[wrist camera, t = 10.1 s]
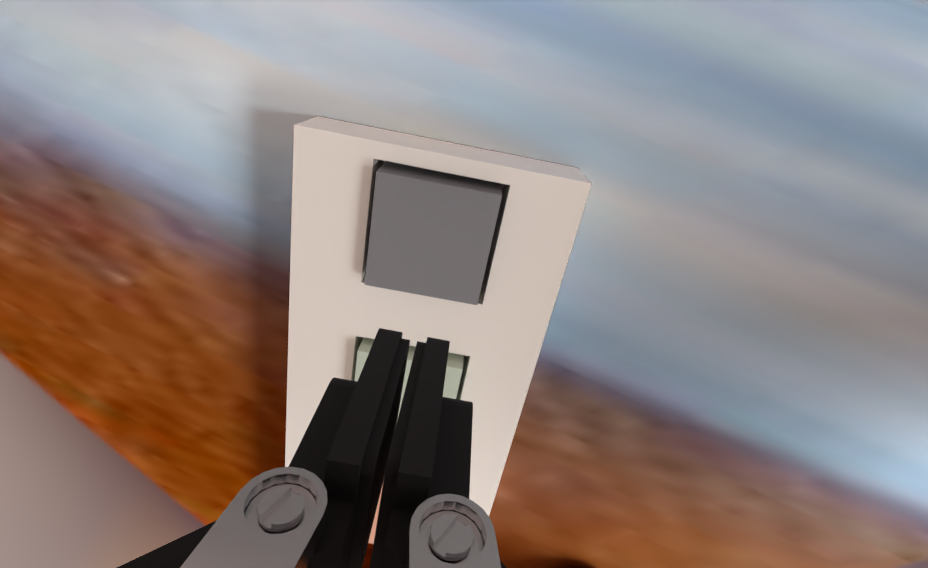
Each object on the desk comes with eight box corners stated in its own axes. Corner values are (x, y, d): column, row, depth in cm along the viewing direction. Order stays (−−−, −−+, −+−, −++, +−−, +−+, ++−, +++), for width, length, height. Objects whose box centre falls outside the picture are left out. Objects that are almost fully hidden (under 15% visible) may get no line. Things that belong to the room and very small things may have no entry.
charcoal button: (499, 178, 21) (502, 195, 18) (477, 276, 23) (477, 305, 21) (389, 156, 21) (376, 171, 18) (378, 258, 23) (364, 284, 20)
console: (578, 167, 22) (592, 183, 19) (476, 516, 32) (475, 558, 29) (318, 116, 21) (294, 124, 18) (300, 488, 31) (283, 528, 29)
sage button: (464, 335, 25) (462, 369, 22) (448, 408, 27) (445, 446, 24) (371, 318, 25) (357, 350, 22) (362, 393, 27) (349, 430, 24)
